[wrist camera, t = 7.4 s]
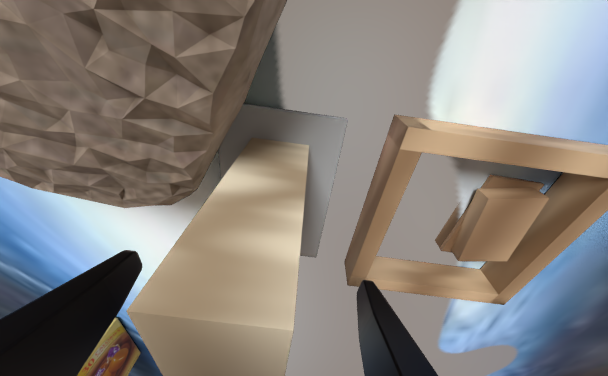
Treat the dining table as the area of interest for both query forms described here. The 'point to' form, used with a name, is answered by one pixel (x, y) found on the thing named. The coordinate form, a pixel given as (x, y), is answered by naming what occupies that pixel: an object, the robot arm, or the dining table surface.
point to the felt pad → (301, 130)
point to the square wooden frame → (486, 147)
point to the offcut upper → (497, 223)
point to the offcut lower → (455, 221)
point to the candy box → (112, 354)
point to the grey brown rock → (124, 92)
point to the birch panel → (232, 273)
